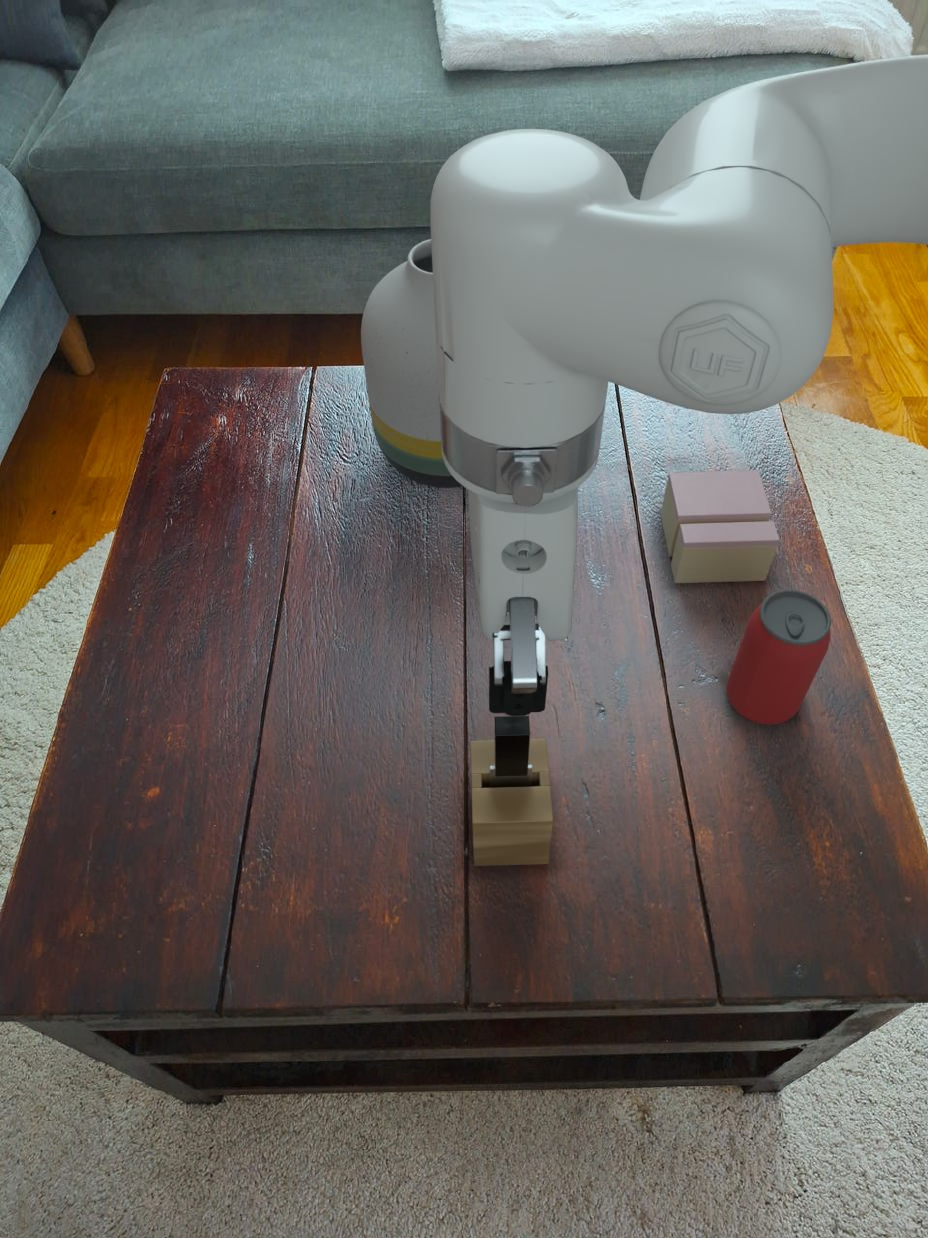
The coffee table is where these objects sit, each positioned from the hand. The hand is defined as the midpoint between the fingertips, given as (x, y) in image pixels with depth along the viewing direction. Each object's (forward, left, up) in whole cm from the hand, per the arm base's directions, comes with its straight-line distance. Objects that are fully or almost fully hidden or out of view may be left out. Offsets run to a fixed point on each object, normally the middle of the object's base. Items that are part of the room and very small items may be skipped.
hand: (512, 640), depth 57 cm
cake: (+17, -35, -26) cm, 47 cm away
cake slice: (+13, -32, -26) cm, 43 cm away
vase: (+42, -18, -26) cm, 53 cm away
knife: (0, 0, -26) cm, 26 cm away
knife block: (0, 0, -26) cm, 26 cm away
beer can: (-1, -26, -26) cm, 37 cm away
